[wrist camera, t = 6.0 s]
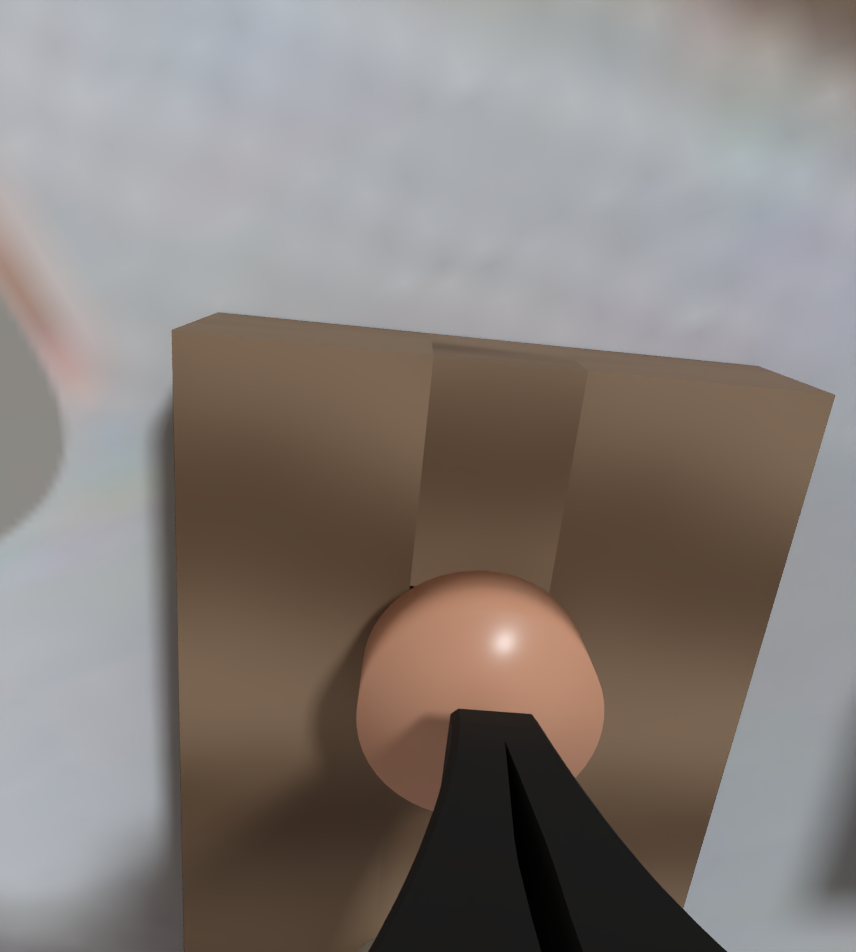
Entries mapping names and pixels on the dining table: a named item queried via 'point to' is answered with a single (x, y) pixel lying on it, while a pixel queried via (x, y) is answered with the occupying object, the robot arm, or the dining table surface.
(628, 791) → the board
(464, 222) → the dining table surface
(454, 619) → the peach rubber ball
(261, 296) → the dining table surface
